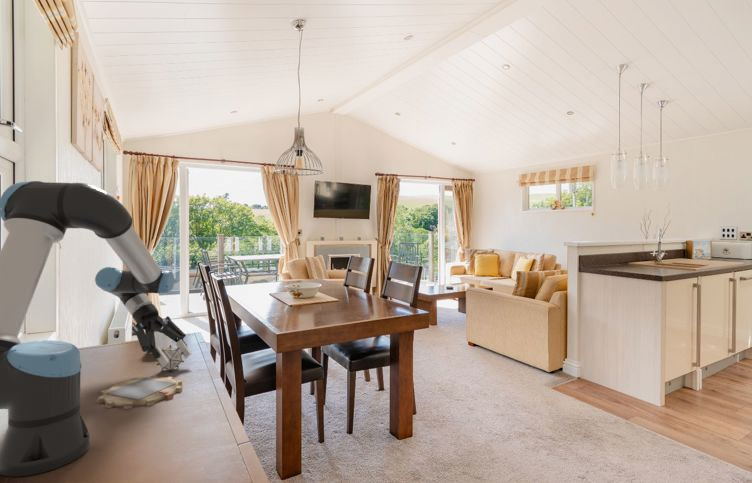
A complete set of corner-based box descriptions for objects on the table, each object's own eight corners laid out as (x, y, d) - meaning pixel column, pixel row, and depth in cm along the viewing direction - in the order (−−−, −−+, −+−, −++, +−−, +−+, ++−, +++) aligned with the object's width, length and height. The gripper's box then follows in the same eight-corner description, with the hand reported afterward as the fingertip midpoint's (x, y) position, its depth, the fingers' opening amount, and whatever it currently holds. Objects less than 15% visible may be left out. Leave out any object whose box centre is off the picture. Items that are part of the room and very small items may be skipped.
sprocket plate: (137, 414, 104) (137, 408, 104) (79, 401, 111) (79, 396, 111) (198, 385, 125) (198, 380, 125) (145, 376, 131) (145, 371, 131)
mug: (145, 358, 150) (145, 329, 150) (147, 349, 160) (147, 322, 160) (171, 355, 154) (171, 327, 154) (171, 347, 164) (171, 321, 164)
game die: (176, 380, 138) (194, 357, 138) (153, 378, 131) (171, 354, 131) (169, 362, 144) (185, 340, 143) (146, 359, 137) (164, 336, 136)
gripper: (162, 311, 152) (195, 357, 148) (107, 322, 132) (143, 377, 127) (173, 298, 151) (207, 345, 146) (119, 308, 130) (157, 362, 125)
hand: (177, 360), depth 136 cm, fingers open, 9 cm apart
